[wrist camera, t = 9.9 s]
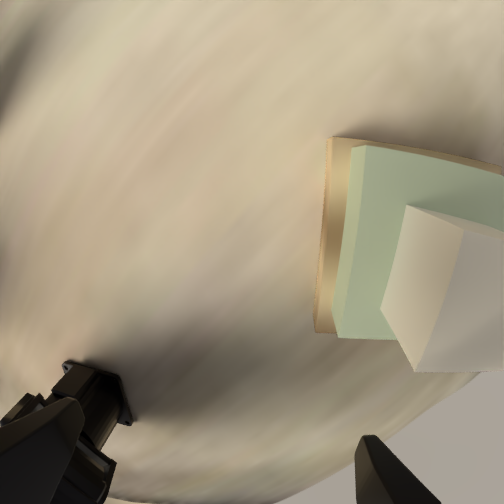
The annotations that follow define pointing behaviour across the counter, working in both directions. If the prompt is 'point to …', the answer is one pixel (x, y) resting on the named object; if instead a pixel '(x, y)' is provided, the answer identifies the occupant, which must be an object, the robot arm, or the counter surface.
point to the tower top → (398, 224)
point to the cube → (447, 293)
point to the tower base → (336, 209)
